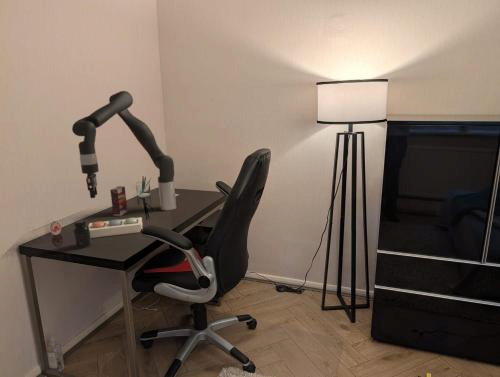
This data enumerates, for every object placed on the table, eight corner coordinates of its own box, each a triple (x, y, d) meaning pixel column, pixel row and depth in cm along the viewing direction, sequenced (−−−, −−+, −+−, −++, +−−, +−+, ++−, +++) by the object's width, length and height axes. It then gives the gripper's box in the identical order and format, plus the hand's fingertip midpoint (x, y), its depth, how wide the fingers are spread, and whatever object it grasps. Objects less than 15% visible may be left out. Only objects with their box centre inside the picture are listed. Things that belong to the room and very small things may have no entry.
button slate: (121, 223, 185) (120, 218, 185) (120, 227, 180) (119, 222, 179) (110, 224, 184) (109, 220, 183) (108, 228, 179) (108, 223, 178)
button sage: (137, 221, 187) (136, 217, 187) (137, 225, 182) (136, 220, 181) (126, 223, 186) (125, 218, 185) (125, 226, 181) (124, 221, 180)
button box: (142, 224, 192) (141, 217, 191) (141, 231, 180) (141, 224, 179) (90, 230, 185) (89, 223, 184) (86, 238, 174) (85, 230, 173)
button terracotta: (105, 225, 183) (104, 220, 183) (103, 229, 178) (103, 224, 177) (93, 226, 182) (92, 221, 181) (91, 230, 177) (91, 225, 176)
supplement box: (120, 216, 207) (117, 189, 203) (113, 215, 208) (109, 189, 204) (128, 211, 215) (125, 186, 212) (121, 211, 216) (117, 186, 213)
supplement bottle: (78, 243, 168) (75, 219, 166) (93, 242, 169) (90, 218, 166) (73, 248, 162) (69, 224, 159) (88, 247, 162) (84, 223, 159)
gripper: (95, 164, 166) (100, 199, 170) (99, 160, 180) (103, 192, 184) (77, 165, 164) (83, 200, 168) (83, 161, 178) (88, 193, 182)
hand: (94, 196), depth 176 cm, fingers open, 5 cm apart
